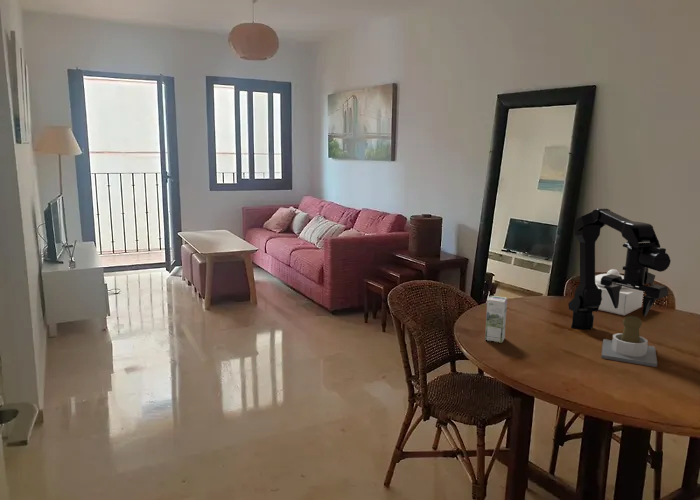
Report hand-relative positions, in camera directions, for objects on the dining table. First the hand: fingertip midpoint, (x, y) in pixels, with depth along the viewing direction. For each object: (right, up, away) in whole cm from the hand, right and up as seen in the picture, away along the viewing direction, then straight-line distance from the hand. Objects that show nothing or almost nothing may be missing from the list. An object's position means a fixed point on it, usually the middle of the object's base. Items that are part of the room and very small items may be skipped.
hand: (629, 312), depth 170 cm
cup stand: (-1, -13, -1) cm, 13 cm away
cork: (-1, -12, -1) cm, 12 cm away
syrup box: (-40, -11, +11) cm, 43 cm away
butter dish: (+18, -4, +50) cm, 54 cm away
